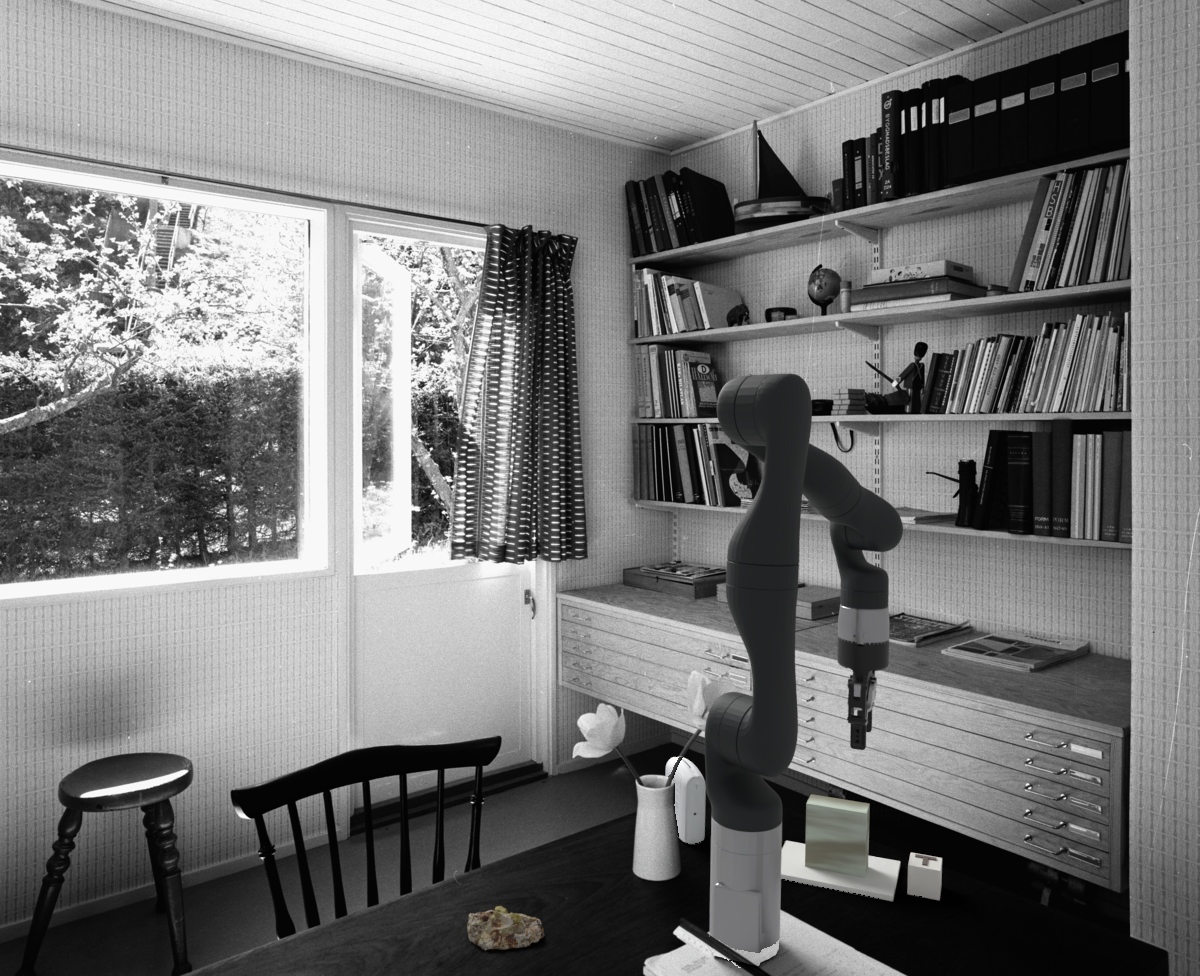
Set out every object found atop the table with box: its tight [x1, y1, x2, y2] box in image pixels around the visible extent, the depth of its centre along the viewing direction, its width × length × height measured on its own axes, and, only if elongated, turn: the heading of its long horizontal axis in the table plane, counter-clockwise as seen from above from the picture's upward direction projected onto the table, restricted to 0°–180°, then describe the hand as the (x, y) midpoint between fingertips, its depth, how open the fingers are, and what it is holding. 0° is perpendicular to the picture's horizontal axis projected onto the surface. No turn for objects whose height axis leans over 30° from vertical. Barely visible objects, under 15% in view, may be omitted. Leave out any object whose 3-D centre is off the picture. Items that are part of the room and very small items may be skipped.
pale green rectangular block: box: [804, 793, 871, 878], centre depth 141 cm, size 4×9×10 cm, turn 67°
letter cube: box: [906, 852, 943, 901], centre depth 135 cm, size 4×4×5 cm
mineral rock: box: [466, 905, 545, 951], centre depth 122 cm, size 11×4×8 cm
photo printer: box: [665, 756, 707, 845], centre depth 154 cm, size 10×4×12 cm, turn 17°
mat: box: [781, 840, 901, 902], centre depth 141 cm, size 12×18×1 cm, turn 67°
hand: (861, 739), depth 139 cm, fingers open, 8 cm apart
